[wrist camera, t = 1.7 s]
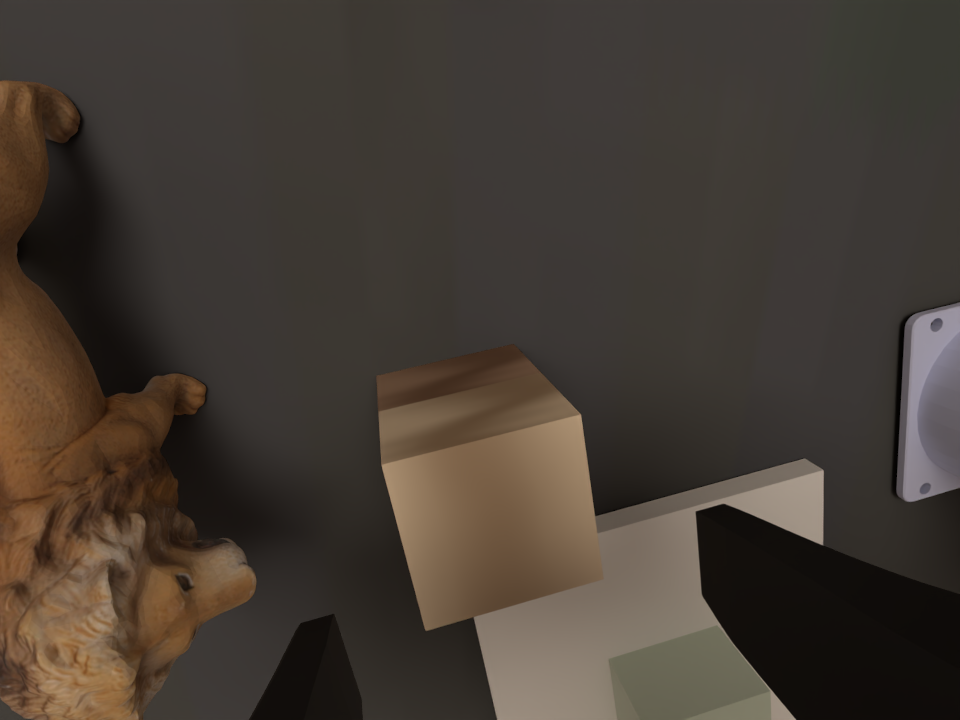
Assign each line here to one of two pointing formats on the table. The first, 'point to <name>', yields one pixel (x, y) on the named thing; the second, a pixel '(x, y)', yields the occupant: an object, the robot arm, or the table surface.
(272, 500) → the table surface
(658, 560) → the board
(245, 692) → the table surface
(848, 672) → the robot arm
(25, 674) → the lion figurine
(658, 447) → the table surface
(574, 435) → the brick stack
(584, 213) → the table surface
